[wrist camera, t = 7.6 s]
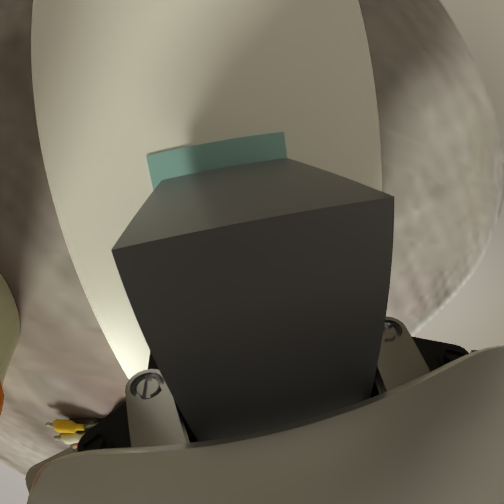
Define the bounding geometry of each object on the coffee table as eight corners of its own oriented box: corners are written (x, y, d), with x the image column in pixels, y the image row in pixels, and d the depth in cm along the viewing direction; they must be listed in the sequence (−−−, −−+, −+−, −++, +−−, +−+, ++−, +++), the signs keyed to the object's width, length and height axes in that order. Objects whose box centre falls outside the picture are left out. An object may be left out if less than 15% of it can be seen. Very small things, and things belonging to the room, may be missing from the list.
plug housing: (161, 180, 9) (111, 249, 4) (286, 157, 10) (393, 196, 4) (223, 399, 14) (241, 504, 8) (304, 380, 14) (345, 478, 9)
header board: (53, -27, 6) (13, -64, 2) (316, -65, 8) (356, -109, 3) (140, 370, 16) (133, 435, 12) (357, 323, 18) (396, 375, 13)
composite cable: (137, 392, 18) (133, 420, 15) (170, 426, 20) (170, 451, 17) (47, 409, 17) (40, 431, 15) (81, 439, 19) (77, 460, 17)
